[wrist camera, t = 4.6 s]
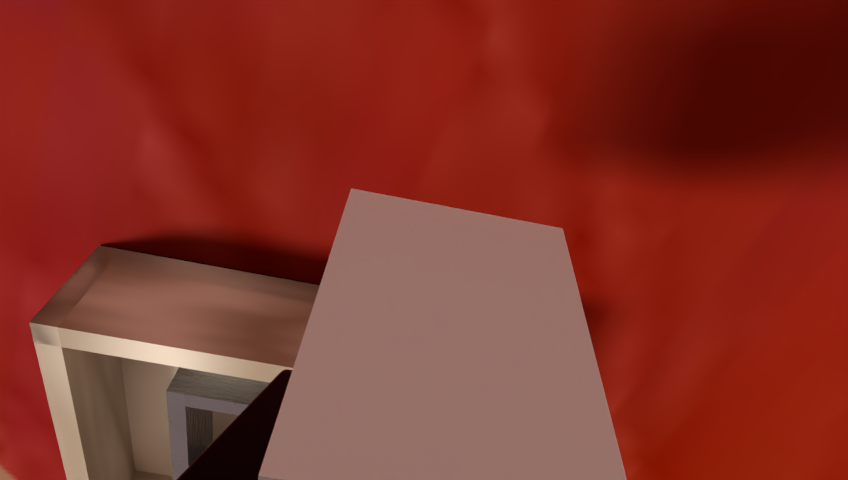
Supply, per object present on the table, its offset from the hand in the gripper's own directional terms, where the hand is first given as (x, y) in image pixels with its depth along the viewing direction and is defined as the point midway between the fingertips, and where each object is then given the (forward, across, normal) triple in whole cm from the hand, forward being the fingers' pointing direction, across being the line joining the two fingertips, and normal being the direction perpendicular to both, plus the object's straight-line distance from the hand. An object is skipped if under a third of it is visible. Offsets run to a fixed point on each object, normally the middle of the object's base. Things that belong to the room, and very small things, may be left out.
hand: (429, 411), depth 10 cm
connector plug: (+3, 0, 0) cm, 3 cm away
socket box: (+10, +4, +12) cm, 16 cm away
